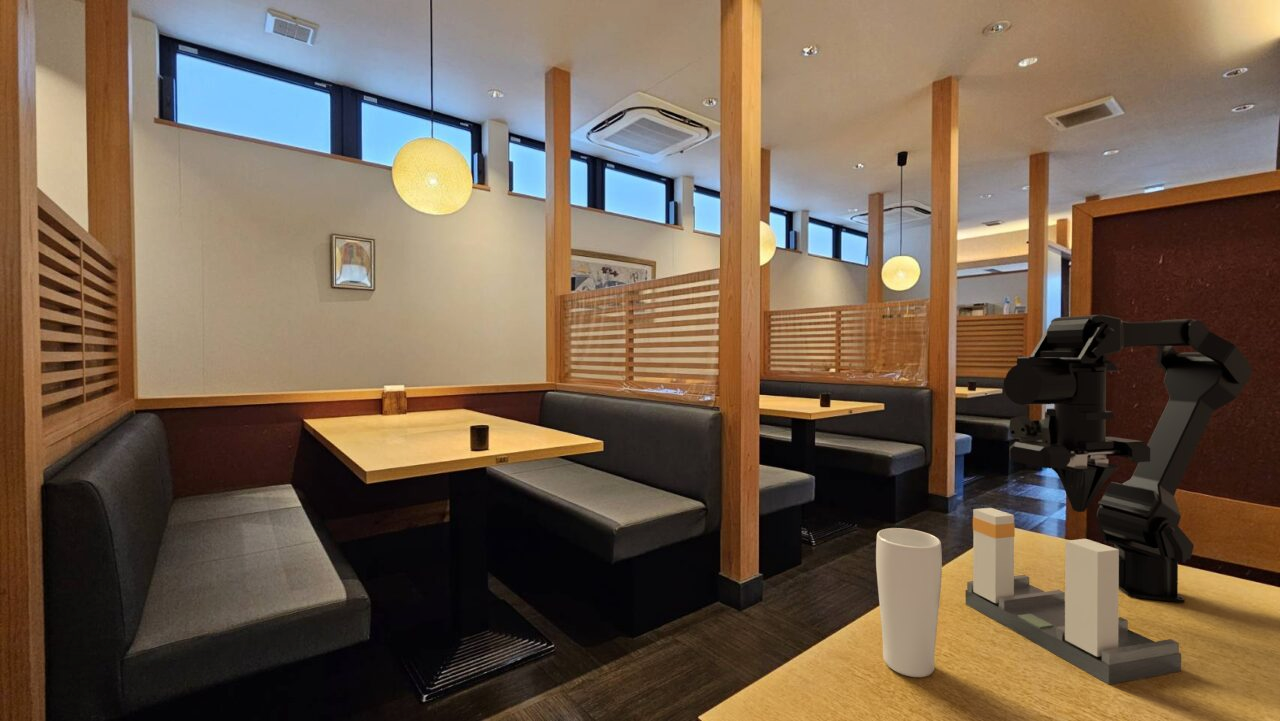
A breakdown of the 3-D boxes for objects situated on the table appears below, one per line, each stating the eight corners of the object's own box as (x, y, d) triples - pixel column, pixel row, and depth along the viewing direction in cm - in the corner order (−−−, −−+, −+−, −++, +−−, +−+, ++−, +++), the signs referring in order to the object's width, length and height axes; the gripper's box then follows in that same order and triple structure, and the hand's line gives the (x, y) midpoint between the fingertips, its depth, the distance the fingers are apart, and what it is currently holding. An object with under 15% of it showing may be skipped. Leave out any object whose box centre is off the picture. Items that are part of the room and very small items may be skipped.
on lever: (1085, 636, 64) (1085, 538, 64) (1118, 653, 60) (1118, 549, 60) (1064, 639, 63) (1065, 540, 63) (1097, 656, 60) (1097, 552, 59)
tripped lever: (991, 589, 76) (991, 507, 76) (1014, 601, 73) (1014, 515, 73) (972, 591, 76) (972, 509, 76) (995, 603, 72) (995, 517, 72)
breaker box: (1024, 595, 79) (1024, 574, 79) (1181, 671, 61) (1181, 642, 61) (965, 603, 77) (965, 581, 77) (1108, 684, 58) (1108, 655, 58)
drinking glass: (951, 687, 58) (951, 549, 58) (884, 680, 59) (883, 545, 59) (930, 652, 65) (930, 529, 64) (870, 647, 66) (870, 526, 66)
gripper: (1074, 396, 87) (1073, 492, 87) (978, 400, 83) (977, 500, 83) (1153, 403, 76) (1152, 512, 76) (1047, 407, 72) (1046, 523, 72)
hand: (1078, 511), depth 77 cm, fingers closed
